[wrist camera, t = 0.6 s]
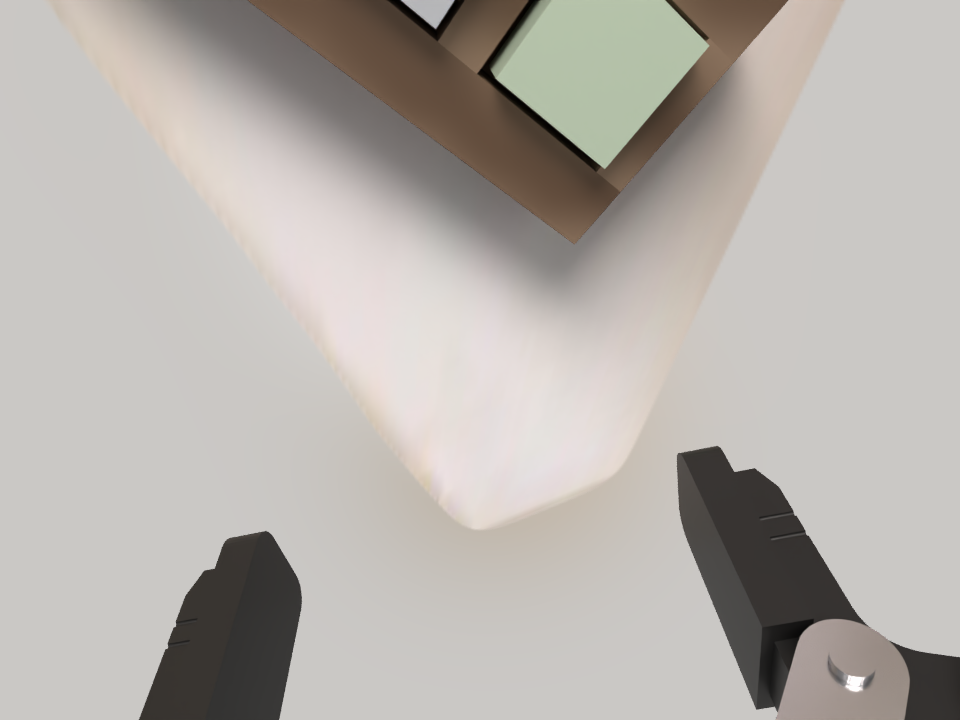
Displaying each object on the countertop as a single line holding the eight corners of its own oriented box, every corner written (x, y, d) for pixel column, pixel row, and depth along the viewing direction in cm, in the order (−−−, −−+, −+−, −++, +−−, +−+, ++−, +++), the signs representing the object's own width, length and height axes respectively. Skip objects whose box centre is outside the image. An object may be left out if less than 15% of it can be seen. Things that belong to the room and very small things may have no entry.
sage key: (580, -66, 23) (599, -67, 20) (680, 36, 25) (709, 45, 23) (488, 65, 25) (495, 78, 23) (588, 148, 27) (604, 169, 25)
